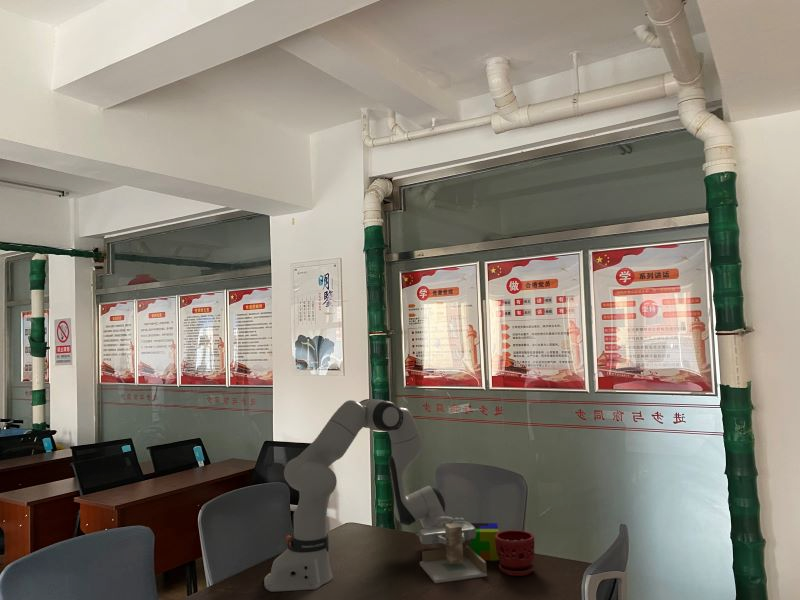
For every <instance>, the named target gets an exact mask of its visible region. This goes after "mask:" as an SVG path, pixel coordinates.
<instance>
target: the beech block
mask: <svg viewBox="0 0 800 600" xmlns="http://www.w3.org/2000/svg"><path fill="white" fill-rule="evenodd" d="M445 538H447V539H448V540H449V541H448V542H449V544H446V545H445V548H446V560H447V561H448V562H449V563H450V564H457V563H463V546H464V545H463V542H462V526H460V525H459V524H458V523H452V524H445Z"/></svg>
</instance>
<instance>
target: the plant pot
mask: <svg viewBox="0 0 800 600" xmlns="http://www.w3.org/2000/svg"><path fill="white" fill-rule="evenodd" d="M495 545H496V551H497V555H498V558H499V560H500V561H499V565H498V568H499V569H500V571H501V572H502V573H504V574H505V575H509V576H515V577H516V576H518V577H519V576H521V577H522V576H528V575H529V574H531V573H532V572H533V571H534V570H535V565H534V564H533V560H534V557H535V536H534V534H533V533H531V532H529V531H525V530H513V529H511V530H503V531H499V533H497V534H496V535H495Z"/></svg>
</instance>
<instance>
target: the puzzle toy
mask: <svg viewBox="0 0 800 600" xmlns="http://www.w3.org/2000/svg"><path fill="white" fill-rule="evenodd" d="M469 523H470V524H472V525H473V526H474V527H475V528H476V538H475V539H470V548H471V549H472V550H473V551H474V552H475V553H476V554H478V555H479V556H480V557H481V558H482V559H483V560H484V561H498V559H499V558H498V555H497V551H496V545H495V535H496V534H497V533H499V532H500V530H499V527H498V523H497V522H494V523H493V522H490V523H489V522H487V523H486V522H485V523H484V522H483V523H481V522H469Z"/></svg>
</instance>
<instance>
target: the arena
mask: <svg viewBox="0 0 800 600" xmlns="http://www.w3.org/2000/svg"><path fill="white" fill-rule="evenodd" d="M462 546H463V563H457V564H450V563H449V562H448V561H447V560H446V547H444V548H438V549H437V548H436V549H430V550H422V552H421V553H422V555H421V558H422V561H419V566H420V567H421V568H422V569H423V571H424V572H425V573H426V574H427V575H428V576H429V578H430V579H431V580H432V582H433V583H434V584H440V583H446V582H454V581H461V580H467V579H469V580H470V579H476V578H483V577H487V576H488V575H487V574H488V573H487V572H488V570H487V562H486V560H483V559H482V558H481V557H480V556H479V555H478V554H476V553H475V552H474V551H473V550H472V549H471V546H470V547H469V545H462Z"/></svg>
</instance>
